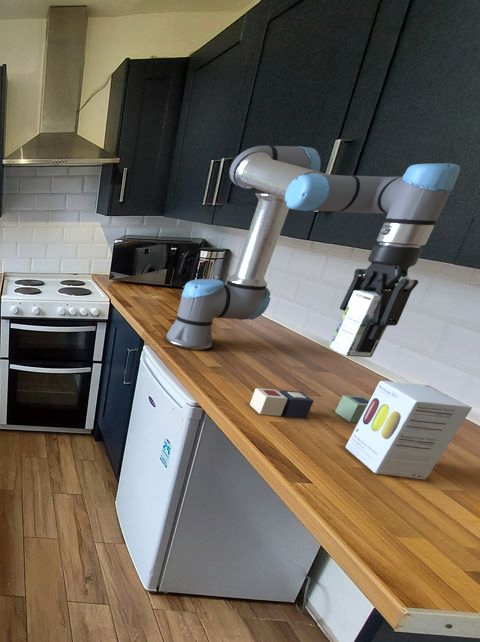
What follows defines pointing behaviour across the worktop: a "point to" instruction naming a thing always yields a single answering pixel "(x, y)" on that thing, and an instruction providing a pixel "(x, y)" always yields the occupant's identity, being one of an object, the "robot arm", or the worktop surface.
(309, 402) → the block
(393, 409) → the supplement box
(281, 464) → the worktop surface
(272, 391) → the block
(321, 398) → the worktop surface
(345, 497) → the worktop surface
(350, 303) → the syrup box
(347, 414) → the block
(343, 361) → the worktop surface
